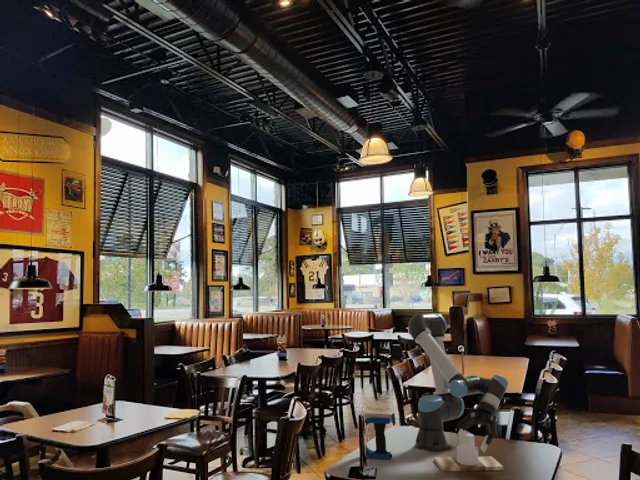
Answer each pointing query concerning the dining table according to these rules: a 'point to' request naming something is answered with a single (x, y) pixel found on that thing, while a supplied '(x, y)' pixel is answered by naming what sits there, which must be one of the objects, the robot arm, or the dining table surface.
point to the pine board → (453, 465)
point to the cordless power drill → (379, 434)
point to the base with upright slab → (467, 449)
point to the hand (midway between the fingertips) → (469, 446)
